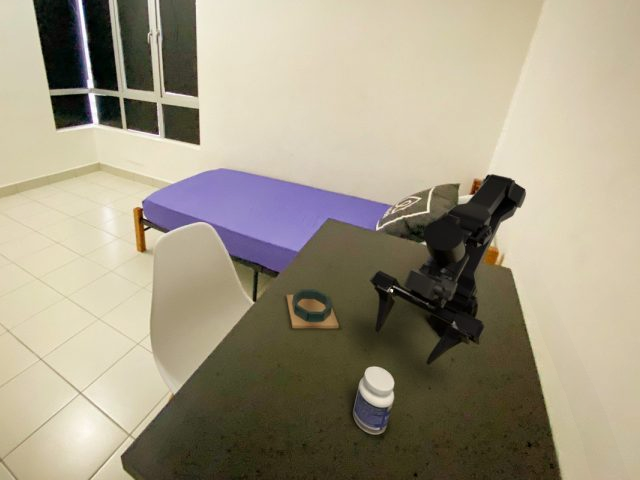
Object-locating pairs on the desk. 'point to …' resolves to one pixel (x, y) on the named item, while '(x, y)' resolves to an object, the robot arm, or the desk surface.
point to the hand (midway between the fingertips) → (400, 346)
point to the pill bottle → (374, 400)
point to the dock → (311, 310)
